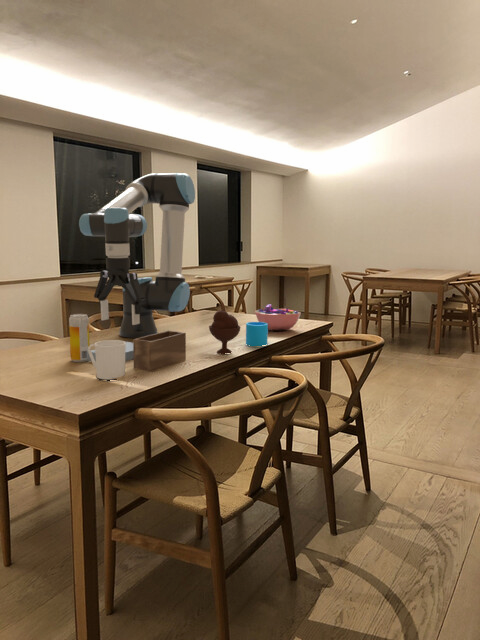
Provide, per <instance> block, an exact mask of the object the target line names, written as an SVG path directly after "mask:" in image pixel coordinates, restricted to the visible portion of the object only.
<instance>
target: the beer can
mask: <svg viewBox="0 0 480 640" xmlns="http://www.w3.org/2000/svg"><path fill="white" fill-rule="evenodd" d="M89 320H90V319H89V317H88V314H85V313H73V314H70V316H69V318H68V323H69V327H68V329H69V349H70V351H69V353H70V360H72V362H74V363H85V362H88V355H87V351H88V347H89V346H90V345H91V344H90V343H91V342H90V321H89Z"/></svg>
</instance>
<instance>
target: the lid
mask: <svg viewBox="0 0 480 640" xmlns="http://www.w3.org/2000/svg"><path fill="white" fill-rule="evenodd" d="M125 342H126V348H125V362H128V361H131V360H134V355H133V341H132V342H130V341H125ZM91 352H92V355H93V357H94V360H95V362H96V355H95V349H91ZM87 355H88V361H89V362H92V361H91V358H90V355H89V353H88V351H87ZM88 361H87V362H88Z"/></svg>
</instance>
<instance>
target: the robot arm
mask: <svg viewBox="0 0 480 640" xmlns="http://www.w3.org/2000/svg"><path fill="white" fill-rule="evenodd" d="M195 199H196V190H195V184H194V181H193V179H192V177H191V176H190V175H189V174H187V173H185V172H184V173H180V172H169V173H166V172H165V173H156V172H155V173H149V174H146V175H143V176H141V177H139V178H136V179H135V180H133V181H132V182H130V183H129V184H127V186H126V187H125V190H124V191H123V192H122V193H120V194H119V195H117V196H116V197H115V198H113V199H112V200H111V201H109V202H108V203H106V204H105V205H104V206H102V207H101V208H100V209H98V210H97V211H95V212H94V213H83V214H82V215H81V216H80V218H79V221H78V227H79V230H80V232H81V233H82V235H84V236H87V237H104V238H105V242H104V243H105V244H104V245H105V256H107V257H106V258H105V265H106V266H105V267H106V270H100V271H99V274H100V275H99V280H98V283H97V286H96V288H95V291H94V294H93V296H94V298H95V299H97V300H98V302H99V310H100V319H101V320H100V321H107V320H109V319H110V317H109V316H110V315H109V314H110V313H109V300H108V296H109V295H110V293H111V292H112V290H113V289H114V287H115V286H118V287H122V306H123V308H122V309H123V311H122V312H123V317H122V321H121V323H120V328H119V336H120V337H123V338H127V339H128V338H129V339H136V338H140V337H144V336H148V335H152V334H156V333H158V328H157V325H156V323H155V320H154V315H153V312H154V311H163V312H173V313H174V312H182V311H183V310H185V308H186V307H187V306H188V303H189V300H190V297H191V295H190V294H191V291H190V290H191V289H190V284H189V283H188V282H186V277H185V276H184V275H183V274H182V273H183V272H182V271H183V270H182V269H183V254H184V253H183V252H184V236H185V235H184V234H185V233H184V232H185V214H186V212H188V211H189V210H190V205H192V204H194V203H195ZM146 204H147V205H151V204H159V205H158V206H159V209H160V210H161V211H162V219H161V220H162V221H161V222H162V223H161V241H160V242H161V244H160V260H159V262H160V263H159V272H158V273H157V274H156V275H155V280H153V277H152V276H146V277H138V273H137V272H130V268H131V259H130V257H129V256H131V253H130V248H131V247H130V238H134V237H135V238H137V237H141V236H143V235H144V234H145V233H146V231H147V229H148V223H147V220H146V218H145V216H143V215H141V214H137V213H133V211H135V210H136V209H137V208H142V207H144V206H145V205H146Z"/></svg>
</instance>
